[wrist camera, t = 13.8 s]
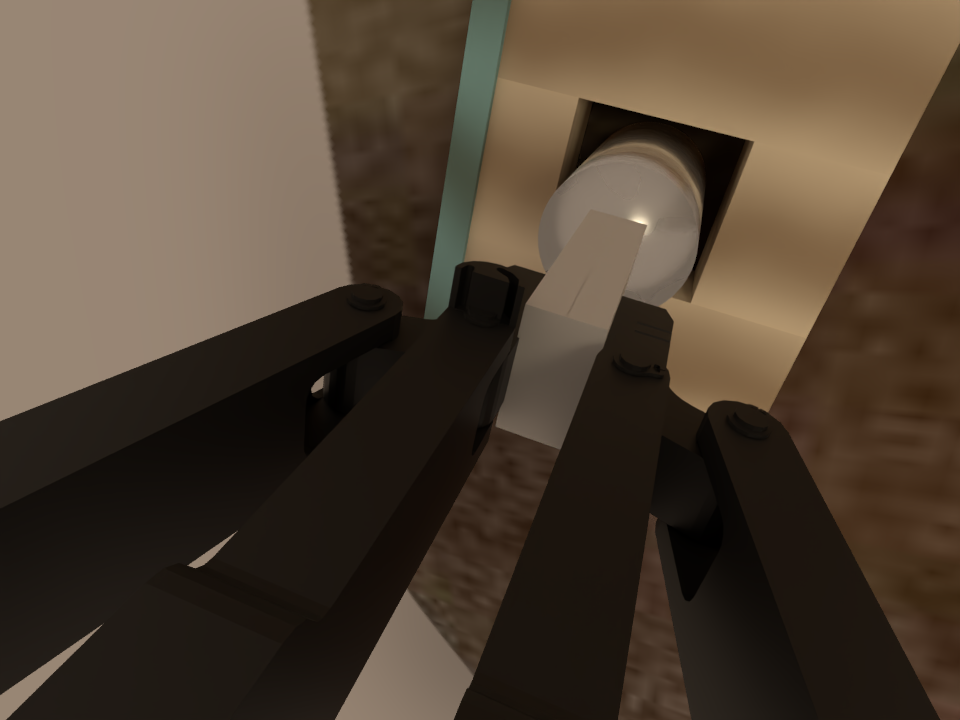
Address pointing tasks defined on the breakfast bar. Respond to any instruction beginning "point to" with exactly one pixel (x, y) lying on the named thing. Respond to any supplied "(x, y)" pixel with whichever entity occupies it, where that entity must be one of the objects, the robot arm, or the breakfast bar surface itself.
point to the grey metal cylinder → (637, 204)
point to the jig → (708, 105)
